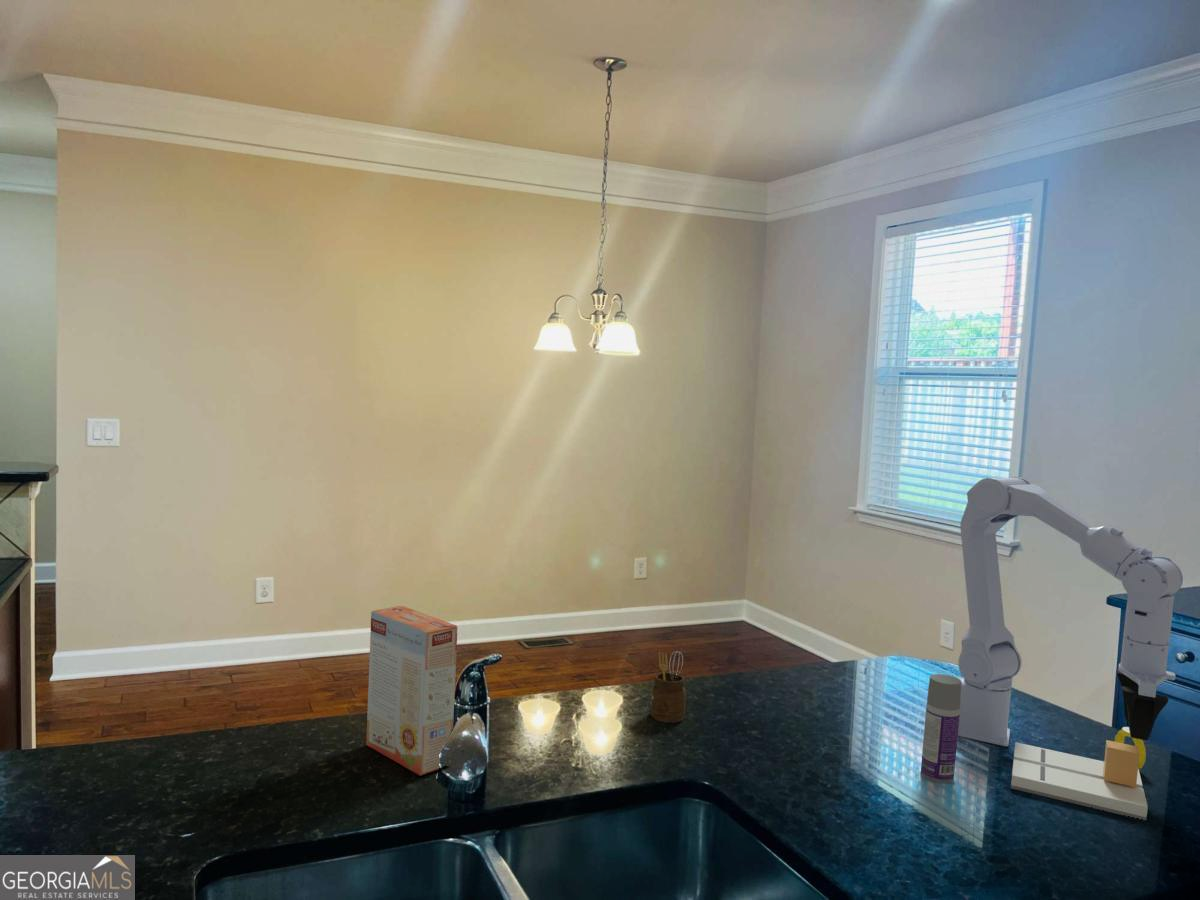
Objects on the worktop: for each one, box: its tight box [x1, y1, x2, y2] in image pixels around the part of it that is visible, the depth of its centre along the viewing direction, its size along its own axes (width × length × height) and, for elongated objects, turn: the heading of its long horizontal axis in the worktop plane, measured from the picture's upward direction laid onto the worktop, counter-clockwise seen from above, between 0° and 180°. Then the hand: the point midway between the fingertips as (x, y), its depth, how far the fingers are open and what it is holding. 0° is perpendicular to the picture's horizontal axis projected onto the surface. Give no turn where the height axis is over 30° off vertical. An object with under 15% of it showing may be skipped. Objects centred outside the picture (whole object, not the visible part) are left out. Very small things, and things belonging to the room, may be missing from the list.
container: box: [920, 673, 962, 784], centre depth 129 cm, size 5×5×15 cm
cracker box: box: [365, 605, 459, 776], centre depth 126 cm, size 14×6×21 cm, turn 47°
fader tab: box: [1103, 739, 1140, 787], centre depth 126 cm, size 4×3×7 cm
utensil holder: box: [650, 650, 687, 724], centre depth 146 cm, size 6×6×12 cm
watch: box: [1114, 726, 1147, 770], centre depth 137 cm, size 6×3×6 cm, turn 1°
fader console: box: [1010, 741, 1149, 821], centre depth 129 cm, size 17×14×2 cm
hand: (1136, 729), depth 127 cm, fingers open, 7 cm apart
